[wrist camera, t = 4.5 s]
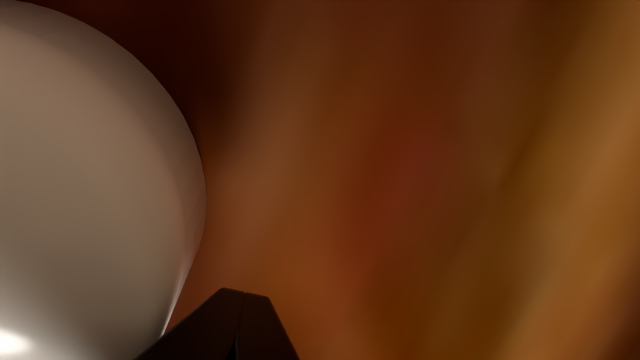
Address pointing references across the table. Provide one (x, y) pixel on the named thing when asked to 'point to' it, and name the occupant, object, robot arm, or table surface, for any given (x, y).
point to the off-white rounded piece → (89, 193)
